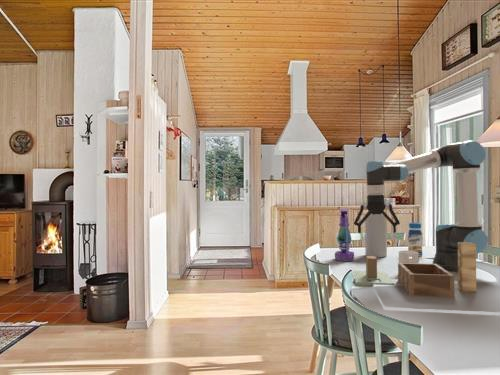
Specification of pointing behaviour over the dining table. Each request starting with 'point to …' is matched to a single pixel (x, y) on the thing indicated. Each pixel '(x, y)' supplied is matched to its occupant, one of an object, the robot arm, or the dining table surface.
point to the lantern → (344, 239)
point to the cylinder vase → (376, 236)
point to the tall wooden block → (466, 267)
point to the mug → (408, 257)
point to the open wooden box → (426, 279)
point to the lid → (371, 274)
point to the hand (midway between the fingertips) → (376, 240)
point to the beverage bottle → (415, 238)
